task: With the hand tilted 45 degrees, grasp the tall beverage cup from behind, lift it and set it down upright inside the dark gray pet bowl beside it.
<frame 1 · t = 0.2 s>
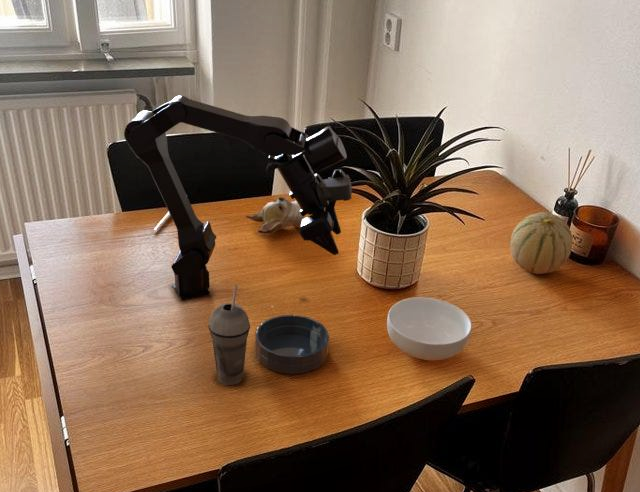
hand: (337, 243, 146), 15 cm above the table, tool tilted 30°, fingers open, 9 cm apart
ceramic sculpture: (278, 228, 182), on the table
beverage cup: (230, 378, 130), on the table
cantaloupe: (533, 270, 174), on the table
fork: (169, 217, 183), on the table
cereal bowl: (424, 348, 143), on the table
dark gray pet bowl: (291, 353, 137), on the table
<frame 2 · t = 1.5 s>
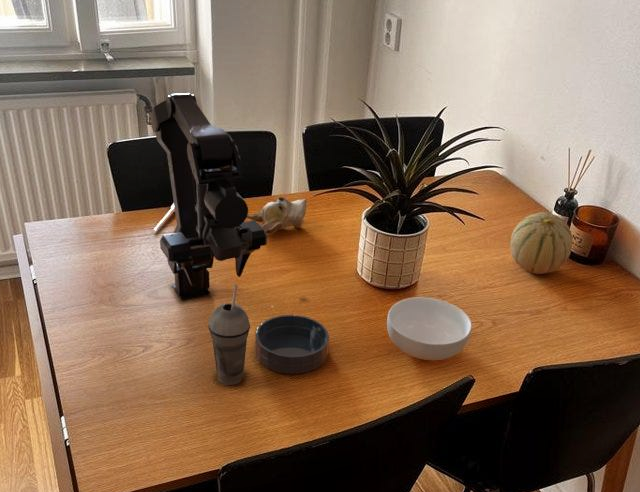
hand: (215, 280, 133), 13 cm above the table, tool pointing down, fingers open, 9 cm apart
nothing on the table moved.
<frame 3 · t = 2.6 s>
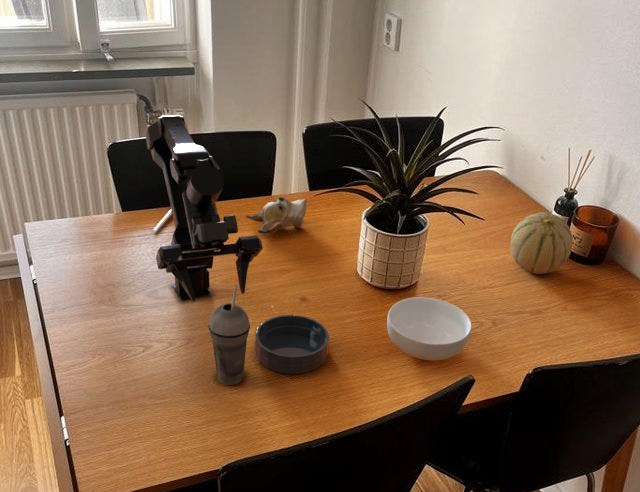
hand: (218, 297, 128), 13 cm above the table, tool tilted 45°, fingers open, 9 cm apart
nothing on the table moved.
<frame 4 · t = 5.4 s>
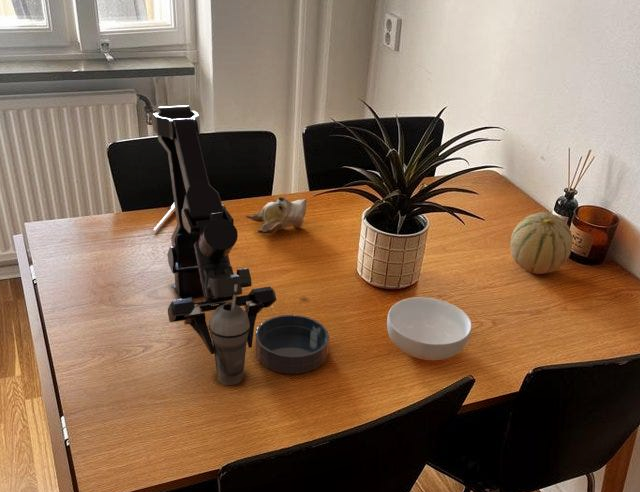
hand: (231, 350, 125), 7 cm above the table, tool tilted 45°, fingers closed on beverage cup, 6 cm apart
beverage cup: (230, 378, 130), on the table, touching gripper
everything else where it was.
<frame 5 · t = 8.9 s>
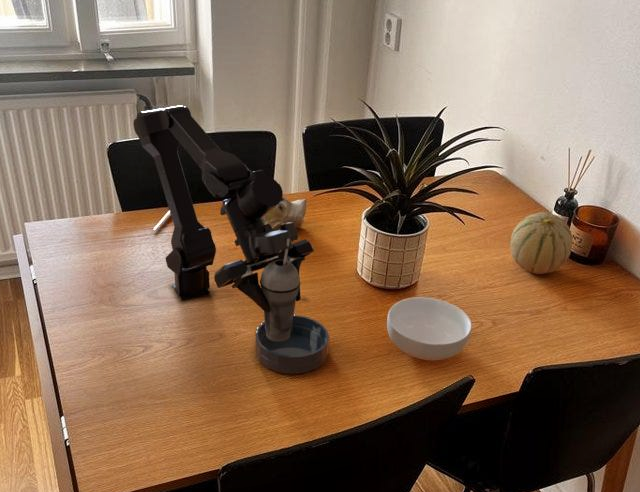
hand: (283, 306, 127), 13 cm above the table, tool tilted 45°, fingers closed on beverage cup, 6 cm apart
beverage cup: (278, 335, 132), point 6 cm above the table, touching gripper
everything else where it was.
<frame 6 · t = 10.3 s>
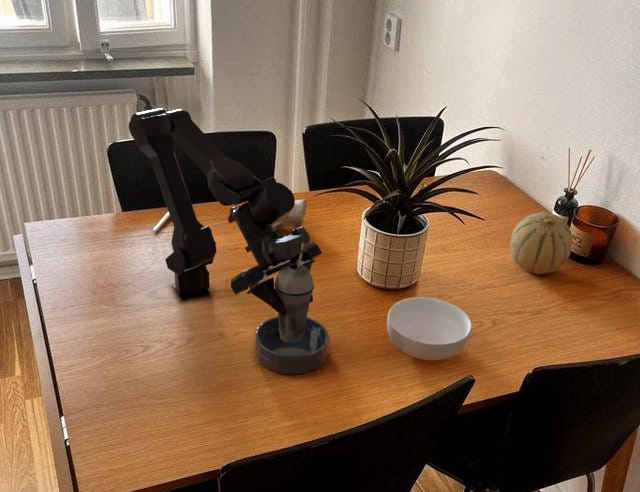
hand: (298, 308, 131), 11 cm above the table, tool tilted 45°, fingers closed on beverage cup, 6 cm apart
beverage cup: (291, 337, 135), point 4 cm above the table, touching gripper
everything else where it was.
when the fingers open (8 cm above the table, at t = 11.9 s): beverage cup stays where it is, resting on dark gray pet bowl.
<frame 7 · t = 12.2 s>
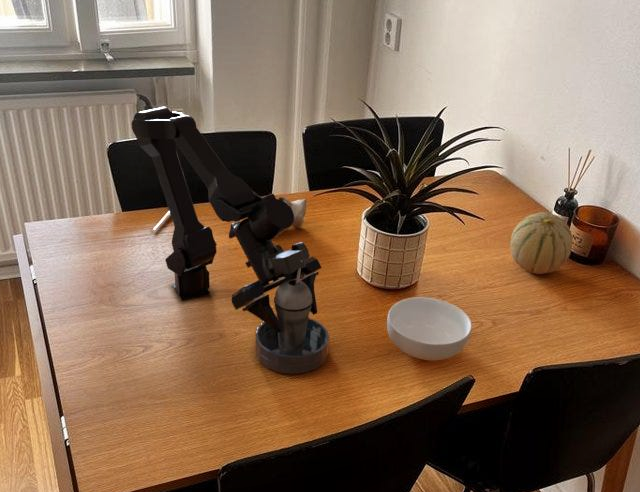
hand: (298, 322, 132), 8 cm above the table, tool tilted 45°, fingers open, 9 cm apart
beverage cup: (291, 351, 137), resting on dark gray pet bowl
everything else where it was.
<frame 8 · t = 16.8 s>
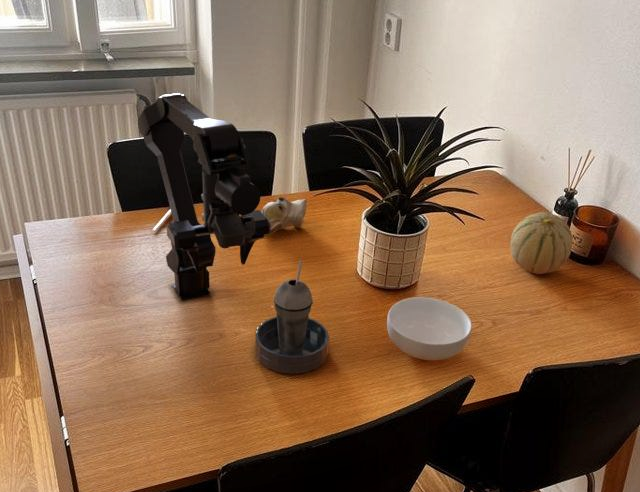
hand: (220, 267, 137), 13 cm above the table, tool pointing down, fingers open, 9 cm apart
nothing on the table moved.
at the end: beverage cup inside the target area in the dark gray pet bowl (0.2 cm from its centre), point 0.4 cm above the dark gray pet bowl's base; beverage cup tilted 0°; the gripper is holding nothing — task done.
